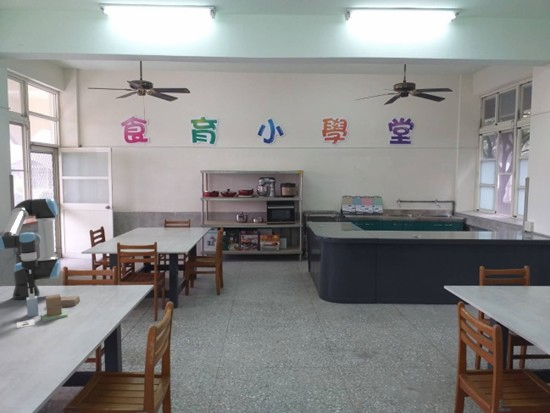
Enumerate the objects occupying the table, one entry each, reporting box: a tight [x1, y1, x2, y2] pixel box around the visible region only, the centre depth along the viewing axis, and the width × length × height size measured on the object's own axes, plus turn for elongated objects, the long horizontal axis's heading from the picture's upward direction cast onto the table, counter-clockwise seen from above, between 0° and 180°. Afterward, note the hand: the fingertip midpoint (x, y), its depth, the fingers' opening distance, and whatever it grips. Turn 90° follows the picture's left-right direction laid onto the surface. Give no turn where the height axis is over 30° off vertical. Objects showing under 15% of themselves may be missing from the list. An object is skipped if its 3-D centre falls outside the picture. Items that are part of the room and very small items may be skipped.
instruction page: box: [16, 318, 35, 329], centre depth 210 cm, size 10×8×1 cm
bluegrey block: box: [25, 296, 39, 318], centre depth 224 cm, size 5×5×10 cm
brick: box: [61, 295, 81, 308], centre depth 241 cm, size 17×8×5 cm, turn 97°
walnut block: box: [45, 293, 63, 317], centre depth 221 cm, size 7×7×10 cm
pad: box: [40, 308, 68, 322], centre depth 221 cm, size 12×12×1 cm
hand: (31, 296), depth 223 cm, fingers open, 13 cm apart
